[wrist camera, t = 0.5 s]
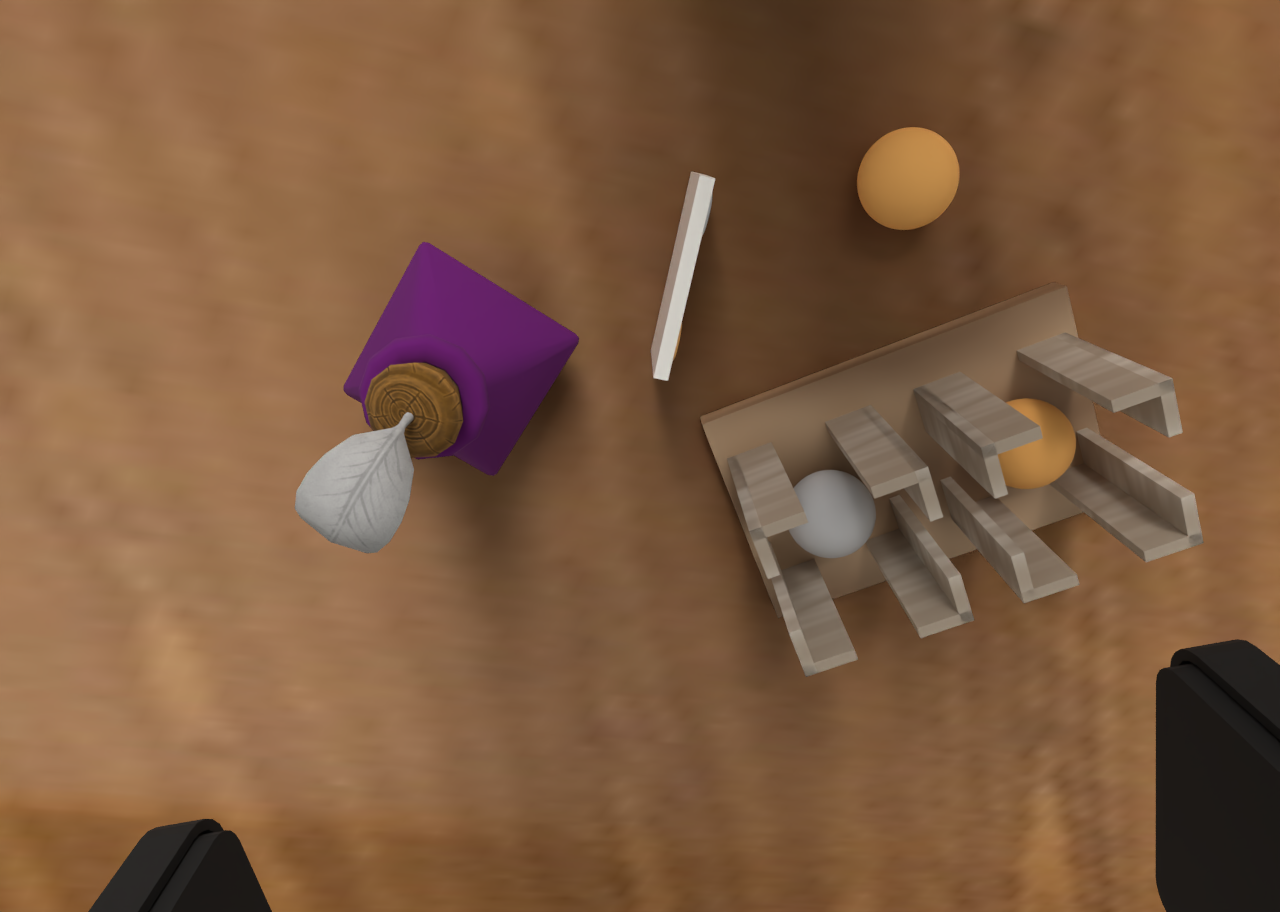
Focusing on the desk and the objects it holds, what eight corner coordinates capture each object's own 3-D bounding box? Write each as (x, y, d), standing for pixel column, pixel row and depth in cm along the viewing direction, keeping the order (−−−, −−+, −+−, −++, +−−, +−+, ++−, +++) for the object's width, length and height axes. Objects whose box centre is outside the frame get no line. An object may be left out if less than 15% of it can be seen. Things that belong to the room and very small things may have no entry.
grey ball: (767, 475, 40) (781, 509, 36) (848, 445, 40) (871, 476, 36) (793, 546, 41) (810, 586, 38) (873, 518, 41) (897, 555, 37)
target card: (650, 350, 39) (653, 378, 35) (691, 171, 37) (699, 174, 32) (666, 353, 39) (671, 381, 35) (707, 175, 37) (719, 179, 32)
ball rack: (699, 416, 40) (718, 490, 32) (1053, 282, 38) (1176, 321, 30) (774, 606, 44) (809, 718, 35) (1101, 491, 42) (1224, 581, 33)
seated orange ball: (953, 406, 39) (987, 434, 35) (1039, 374, 39) (1083, 399, 35) (974, 481, 40) (1010, 516, 37) (1058, 452, 40) (1102, 483, 36)
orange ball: (835, 150, 36) (858, 150, 33) (926, 112, 36) (960, 108, 32) (862, 239, 38) (887, 250, 34) (949, 204, 37) (985, 211, 33)
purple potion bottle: (439, 231, 37) (281, 302, 20) (585, 322, 39) (550, 459, 22) (363, 371, 39) (162, 540, 23) (504, 453, 41) (414, 669, 24)
